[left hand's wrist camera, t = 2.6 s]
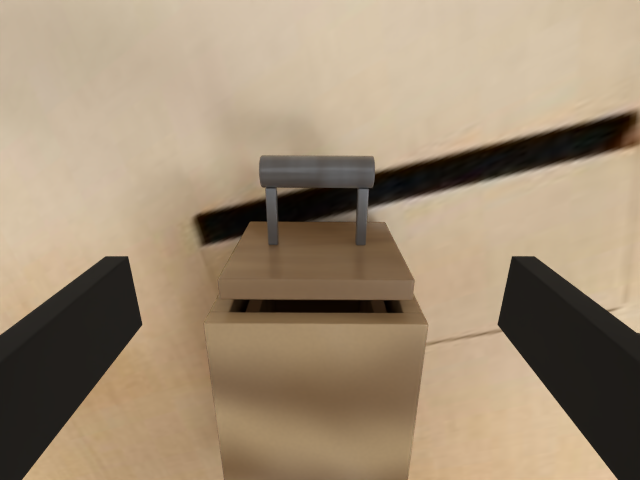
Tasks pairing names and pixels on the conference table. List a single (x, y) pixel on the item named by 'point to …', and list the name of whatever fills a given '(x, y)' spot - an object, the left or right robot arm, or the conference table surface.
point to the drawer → (316, 248)
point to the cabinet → (315, 391)
